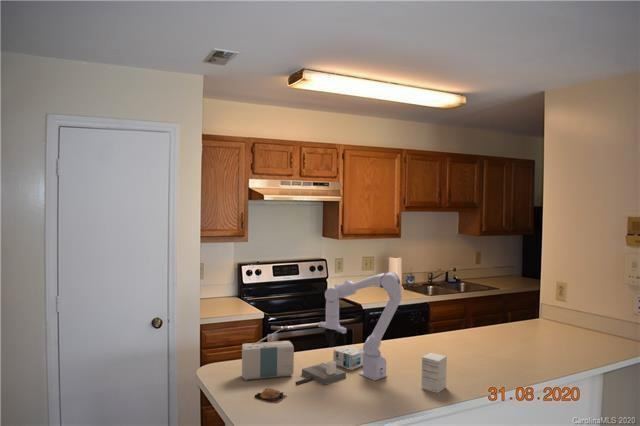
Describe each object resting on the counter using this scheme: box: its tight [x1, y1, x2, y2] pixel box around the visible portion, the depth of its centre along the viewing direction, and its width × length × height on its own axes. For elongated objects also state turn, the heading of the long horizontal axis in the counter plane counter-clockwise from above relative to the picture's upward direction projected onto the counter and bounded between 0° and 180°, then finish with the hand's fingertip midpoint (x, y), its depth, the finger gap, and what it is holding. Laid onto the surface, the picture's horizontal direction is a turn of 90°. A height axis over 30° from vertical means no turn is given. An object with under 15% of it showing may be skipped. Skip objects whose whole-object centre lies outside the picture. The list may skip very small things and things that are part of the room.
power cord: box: [294, 377, 314, 386], centre depth 195 cm, size 1×8×1 cm, turn 130°
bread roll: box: [253, 388, 288, 404], centre depth 181 cm, size 11×8×4 cm
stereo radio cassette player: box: [241, 325, 295, 381], centre depth 201 cm, size 21×8×20 cm, turn 105°
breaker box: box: [301, 362, 347, 386], centre depth 202 cm, size 14×12×2 cm
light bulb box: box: [332, 345, 364, 371], centre depth 216 cm, size 11×7×11 cm
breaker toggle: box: [325, 360, 337, 375], centre depth 198 cm, size 2×4×4 cm, turn 130°
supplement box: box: [421, 352, 447, 394], centre depth 191 cm, size 7×7×13 cm
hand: (331, 346), depth 208 cm, fingers closed
